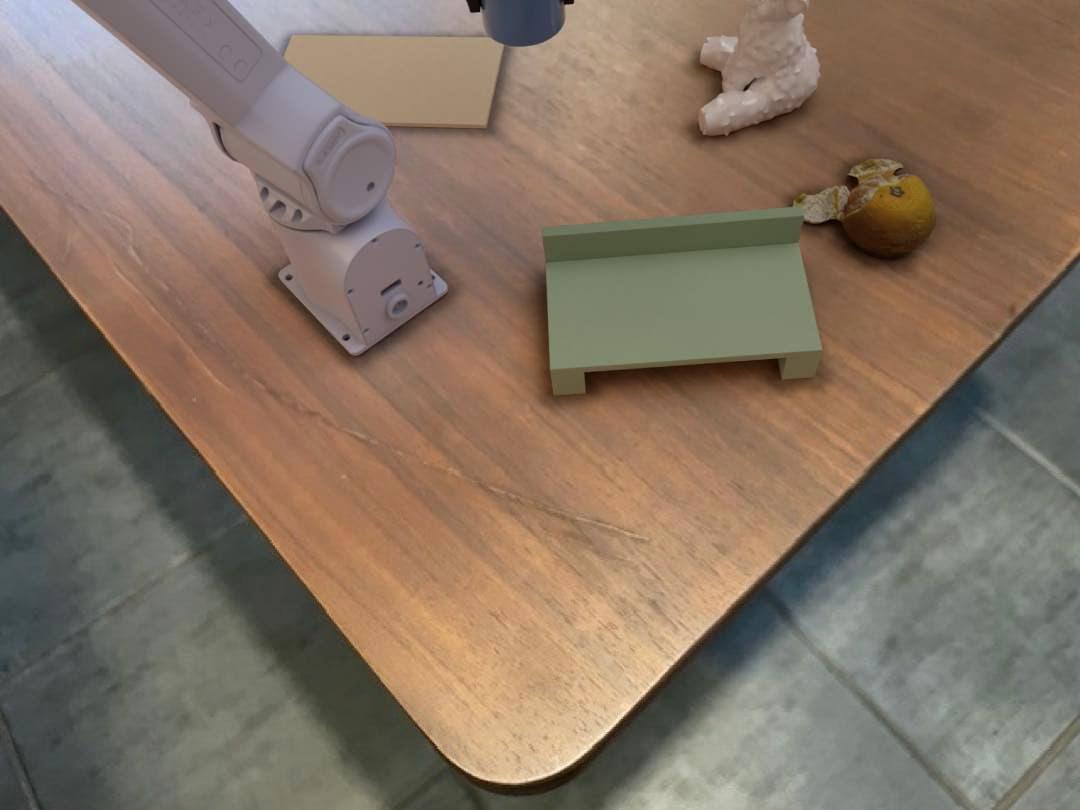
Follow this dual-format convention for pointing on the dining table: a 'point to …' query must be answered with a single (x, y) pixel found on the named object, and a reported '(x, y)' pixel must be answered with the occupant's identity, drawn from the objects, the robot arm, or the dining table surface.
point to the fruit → (877, 209)
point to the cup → (522, 20)
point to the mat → (404, 76)
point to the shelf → (678, 294)
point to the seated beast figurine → (760, 67)
